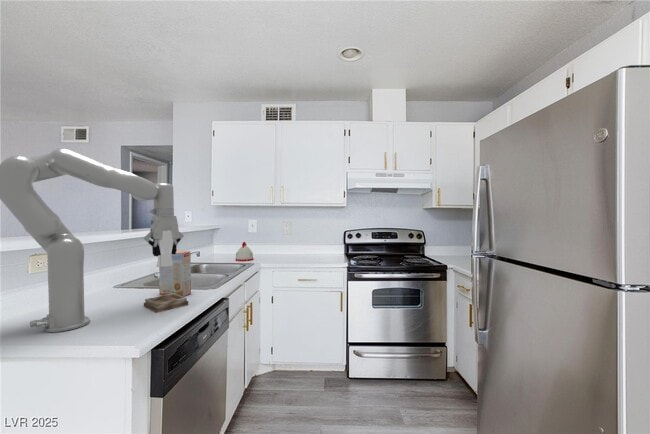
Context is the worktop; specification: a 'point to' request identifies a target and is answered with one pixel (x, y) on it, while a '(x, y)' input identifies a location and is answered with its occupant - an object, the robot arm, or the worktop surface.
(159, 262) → the beer glass
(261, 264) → the worktop surface
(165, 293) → the cracker box
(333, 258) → the worktop surface
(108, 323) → the worktop surface
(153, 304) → the brown square tray
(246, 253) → the cream dome with knob
